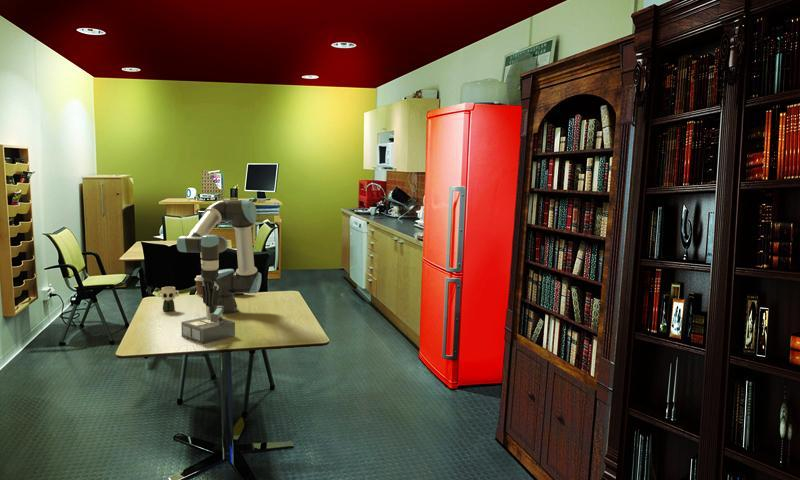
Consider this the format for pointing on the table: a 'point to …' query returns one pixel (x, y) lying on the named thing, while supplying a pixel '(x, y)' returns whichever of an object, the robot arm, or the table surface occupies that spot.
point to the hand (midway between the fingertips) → (210, 319)
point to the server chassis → (208, 329)
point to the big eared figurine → (168, 297)
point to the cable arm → (217, 314)
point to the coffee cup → (198, 287)
